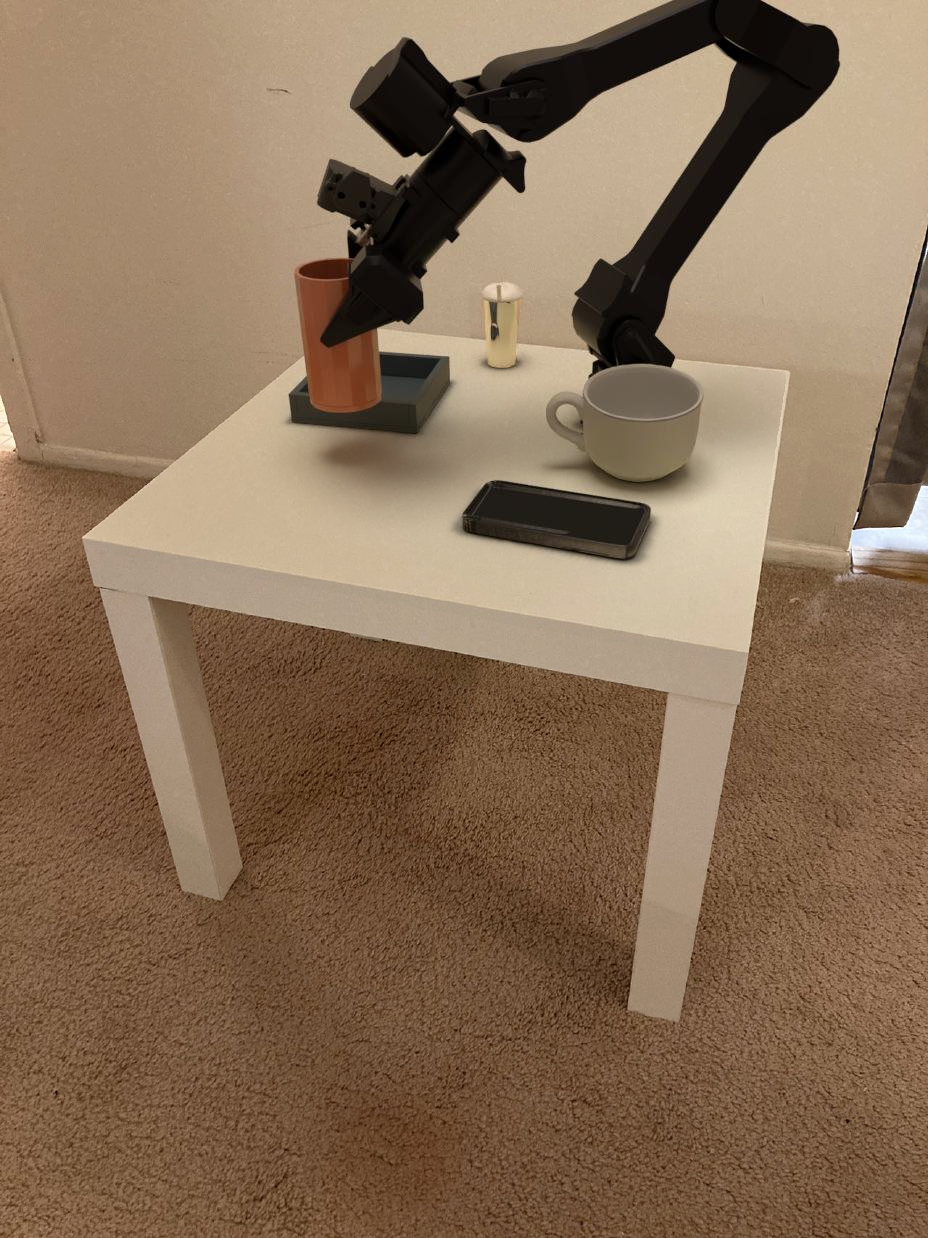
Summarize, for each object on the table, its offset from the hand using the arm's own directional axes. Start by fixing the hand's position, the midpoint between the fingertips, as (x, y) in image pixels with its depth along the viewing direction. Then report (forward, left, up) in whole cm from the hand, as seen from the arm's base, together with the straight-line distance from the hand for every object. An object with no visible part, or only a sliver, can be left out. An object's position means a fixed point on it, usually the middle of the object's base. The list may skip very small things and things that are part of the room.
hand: (324, 330), depth 89 cm
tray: (+6, -11, -12) cm, 18 cm away
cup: (-1, -1, -7) cm, 7 cm away
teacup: (-23, -15, -12) cm, 30 cm away
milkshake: (+2, -28, -13) cm, 31 cm away
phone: (-25, -2, -12) cm, 28 cm away
